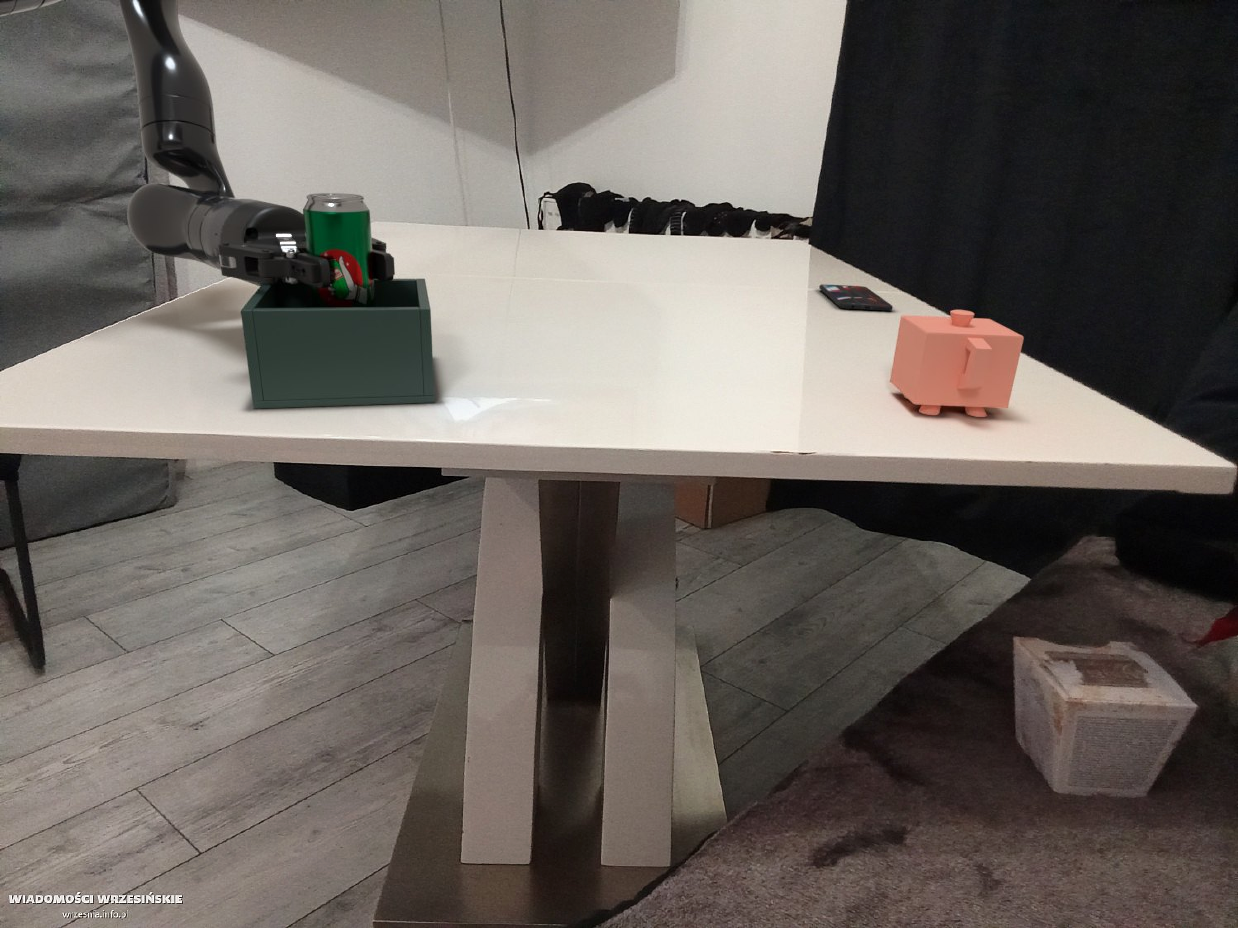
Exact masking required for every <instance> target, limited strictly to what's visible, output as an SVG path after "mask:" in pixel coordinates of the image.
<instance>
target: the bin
mask: <svg viewBox="0 0 1238 928" xmlns="http://www.w3.org/2000/svg"><path fill="white" fill-rule="evenodd" d="M374 284H375V299H376V307H352V308H312V301H311V290H310V285H308V284H305V283H302V282H300V283H298V284H291V283H284V282H283V281H282V280H280V279H277V283H274V284H272V285H266V284H262V285H261V286H258V288H257V290H255V292H254V293H253V294H252V296H250V299H249V300H248V301H247V302H246V304H244V306H243V307H242V308H241V310H240V317H241V323H242V331H243V340H244V346H245V347H244V348H245V354H246V355H245V356H246V362H247V370H248V377H249V386H250V393H251V401H252V408H253V409H255V410H256V409H285V408H286V409H287V408H312V407H313V408H314V407H317V408H318V407H340V406H343V407H344V406H346V407H347V406H370V405H371V406H373V405H400V404H401V405H403V404H404V405H405V404H429V403H430V404H431V403H435V401H436V400H435V381H434V380H435V379H434V378H435V377H434V357H433V355H434V354H433V334H432V333H433V331H432V311H431V309H432V308H431V305H430V299H429V294H428V288H427V282H426V279H425V278H393V280H391V281H381V280H378V279H374Z"/></svg>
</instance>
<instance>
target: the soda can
mask: <svg viewBox="0 0 1238 928" xmlns="http://www.w3.org/2000/svg"><path fill="white" fill-rule="evenodd" d="M306 199H307V201H306V203H305V205H304V207H303V209H302V214H303V217H304V227H305V238H306V248H307V254H310V255H313V256H317V257H321V258H324V259H327V261H328V263H329V269H330V281H331V285H330V287H327V288H318V287H315V286H312V285H310V290H311V301H312V308H352V307H376V299H375V284H374V268H373V253H372V238H373V237H372V225H371V224H372V223H371V211H370V209H369V208H368V206H367V204H366V202H365V201H364V200H365V196H364V195H360V194H355V193H344V192H343V193H342V192H341V193H340V192H324V193H323V192H321V193H319V192H317V193H309V194H307V195H306ZM371 237H372V238H371Z"/></svg>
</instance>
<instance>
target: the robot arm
mask: <svg viewBox="0 0 1238 928" xmlns="http://www.w3.org/2000/svg"><path fill="white" fill-rule="evenodd" d="M61 1H62V0H0V18H4V17H8V16H13V15H17V14H21V13H27V12H31V11H36V10H39V9H42V8H43V9H44V8H46V7H49V6H51V5H54V4H56V3H59V2H61ZM118 3H119V8H120V12H121V16H122V19H123V23H124V28H125V31H126V35H127V39H128V43H129V48H130V52H131V57H132V61H133V68H134V75H135V85H136V92H137V105H138V106H137V107H138V116H139V126H140V138H141V146H142V152H143V155H144V157H145V158H146V160H147V161H148V162H149V163H150V164H151V165H153V166H154V167H157V168H158V169H160V170H162V171H165V172H166V173H169V174H171V175H173V176H175V177H177V178H179V179H180V180H181V181H182V182H184V183H185V185H186V186H187V187H184V186H181V185H180V186H179V185H174V184H169V183H164V182H150V183H147V184H144V185H142V186H140V187H139V188H137V190H136V191H134V193H133V195H131V198H130V200H129V201H128V205H127V208H126V209H127V210H126V211H127V212H126V219H127V224H128V227H129V229H130V230H129V231H130V232H131V234H132V236H133V237H134V239H135V240H136V242H137V243H138V244H139V245H140V246H141V247H143V248H144V249H145V250H147V251H148V252H150V253H153V254H157V255H162V256H166V257H173V258H178V259H183V260H184V259H185V260H191V261H195V262H199V263H202V264H205V265H207V266H209V267H212V268H214V269H217V270H220V271H221V272H220V273H221V276H223V277H226V278H232V279H238V280H240V281H242V282H243V281H244V282H247V283H249V284H251V285H255V286H258V287H260V286H261V285H262V284H266V285H272V284H274V283H277V279H280V280H282V281H283V282H284V283H291V284H298V283H300V282H302V283H305V284H308V285H312V286H315V287H318V288H327V287H330V285H331V281H330V269H329V263H328V261H327V259H324V258H321V257H317V256H313V255H310V254H307V248H306V238H305V227H304V217H303V212H301V211H299V210H297V209H295V208H293V207H290V206H286V205H282V204H281V205H280V204H277V203H271V202H266V201H262V200H258V199H252V198H236V196H235V194H234V191H233V189H232V186H231V184H230V182H229V178H228V176H227V174H226V171H225V166H224V165H223V162H222V160H221V157H220V154H219V150H218V144H217V134H216V133H217V132H216V122H215V112H214V103H213V97H212V93H211V89H210V85H209V82H208V79H207V77H206V75H205V73H204V70H203V68H202V67H201V65H200V63H199V62H198V59H196V56H195V54H193V52H192V50H191V48H190V47H189V46H188V44H187V42H186V41H185V38H184V35H183V32H182V30H181V26H180V20H179V0H118ZM371 238H372V253H373V268H374V279H378V280H381V281H391V280H393V279H394V278H395V275H396V271H395V257H394V256H393V255H392V254H391V253H390V252H387V243H386V242H384V241H382V240H379V239H377V238H375V237H372V236H371Z"/></svg>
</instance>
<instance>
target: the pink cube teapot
mask: <svg viewBox="0 0 1238 928" xmlns="http://www.w3.org/2000/svg"><path fill="white" fill-rule="evenodd" d="M949 315H950V316H934V315H933V316H932V315H931V316H930V315H911V314H910V315H907V314H906V315H905V314H901V316H900V320H899V325H898V326H899V327H898V331H897V338H896V343H895V349H894V355H893V360H892V366H891V372H890V377H889V378H890V379H889V382H890V383H891V384H892V385H893V387H895V388H896V389H897V390H898V391H899V392H900V393H901V394H902V395H903V398H904V399H905V400H906V399H907V400H909V401H910V402H911V403H912V404H913V405H921V406H920V408H919V409H918V412H919V413H921V414H923V415H927V416H938V415H940V412H941V408H942V406H945V407H946V406H947V407H964V409H965V414H966V415H968V416H972V417H975V418H986V417H988V414H987V412H986V410H985V408H992V409H993V408H995V409H996V408H997V409H1008V408H1009V405H1010V400H1011V396H1012V391H1013V388H1014V387H1013V386H1014V383H1015V379H1016V375H1017V374H1016V373H1017V369H1018V365H1019V360H1020V357H1021V352H1022V348H1023V344H1024V340H1025V339H1024V338H1025V337H1024V336H1023V335H1022V334H1019V333H1018V332H1016V331H1014V330H1013V329H1010V328H1008V327H1006V326H1004V325H1002V324H1001V323H999V322H996V321H995V320H993V319H991V318H981V317H980V318H978V317H975V313H974V312H973V311H970V310H966V309H965V310H964V309H953V310H950V313H949Z"/></svg>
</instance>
